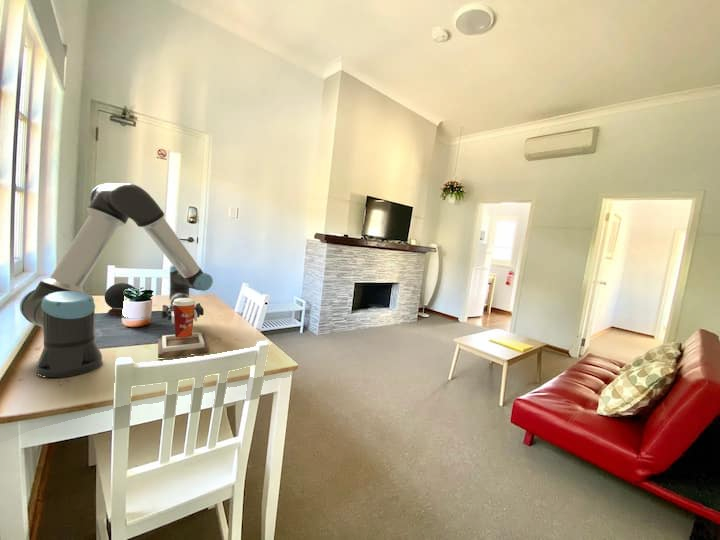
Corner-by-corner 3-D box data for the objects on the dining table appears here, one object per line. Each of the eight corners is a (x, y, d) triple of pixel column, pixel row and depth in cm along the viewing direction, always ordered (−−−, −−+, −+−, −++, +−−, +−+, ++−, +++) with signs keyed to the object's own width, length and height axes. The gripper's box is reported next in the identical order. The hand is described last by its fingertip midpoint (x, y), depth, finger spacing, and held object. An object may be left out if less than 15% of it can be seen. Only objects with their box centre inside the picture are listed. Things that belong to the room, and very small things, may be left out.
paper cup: (184, 340, 113) (185, 303, 112) (167, 337, 115) (167, 300, 113) (199, 333, 121) (200, 299, 119) (183, 330, 123) (183, 296, 121)
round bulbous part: (130, 317, 148) (130, 286, 146) (98, 316, 145) (98, 285, 143) (143, 309, 161) (143, 281, 159) (113, 309, 158) (113, 280, 156)
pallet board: (158, 359, 107) (158, 350, 107) (158, 343, 121) (158, 335, 120) (208, 353, 116) (208, 344, 116) (203, 338, 129) (203, 330, 129)
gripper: (206, 310, 138) (213, 326, 119) (153, 313, 127) (152, 331, 108) (206, 293, 137) (214, 307, 118) (153, 296, 126) (152, 311, 107)
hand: (184, 318), depth 113 cm, fingers closed on paper cup, 7 cm apart
